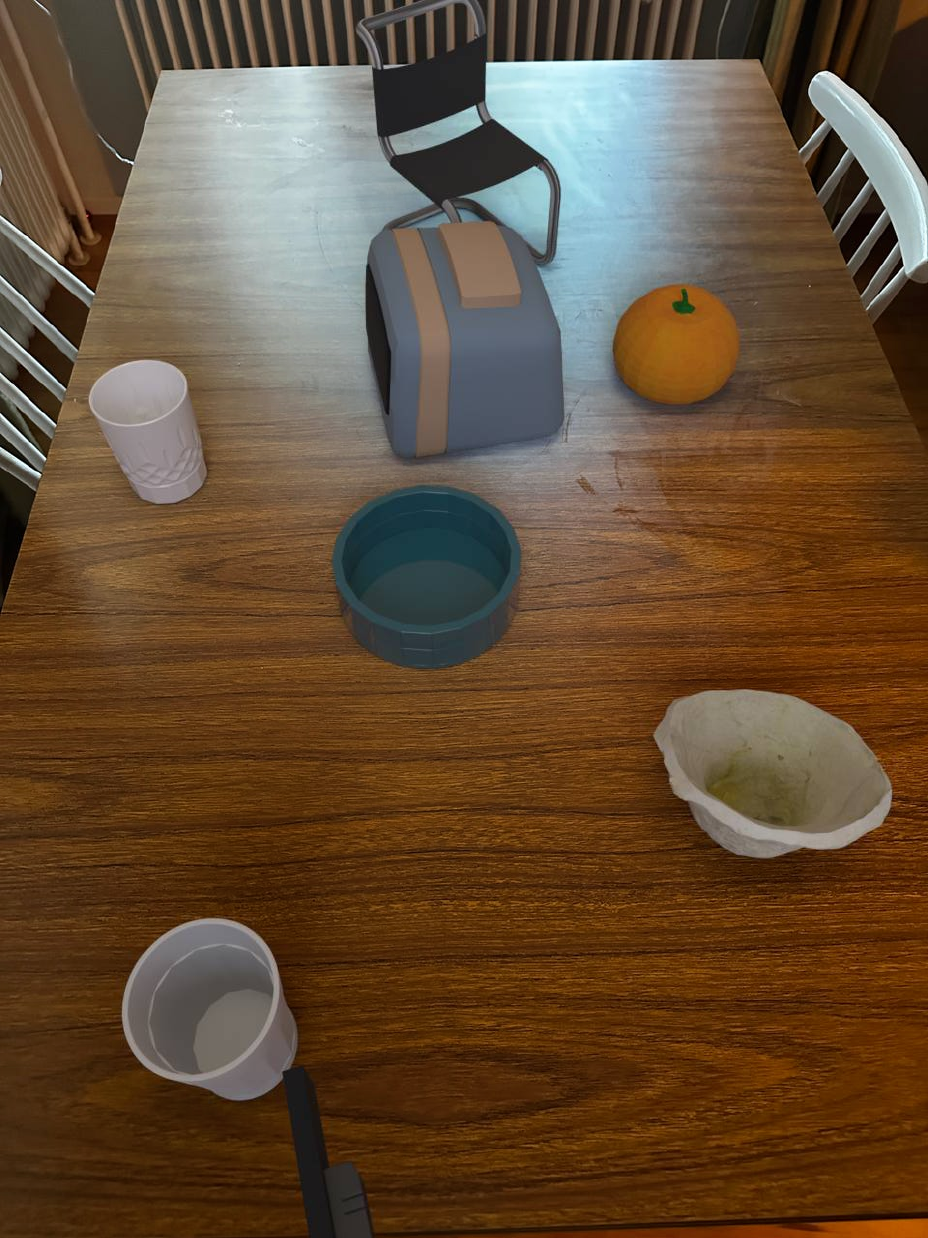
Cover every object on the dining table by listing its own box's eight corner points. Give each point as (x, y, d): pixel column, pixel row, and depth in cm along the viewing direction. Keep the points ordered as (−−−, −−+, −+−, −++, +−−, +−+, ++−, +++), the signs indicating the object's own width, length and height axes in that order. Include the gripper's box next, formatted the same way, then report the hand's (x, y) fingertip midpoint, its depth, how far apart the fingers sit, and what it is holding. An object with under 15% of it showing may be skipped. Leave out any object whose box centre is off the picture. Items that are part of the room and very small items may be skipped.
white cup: (108, 475, 86) (70, 389, 77) (182, 432, 89) (153, 346, 80) (156, 524, 82) (121, 440, 74) (231, 478, 85) (206, 393, 77)
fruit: (628, 429, 89) (644, 342, 80) (593, 347, 95) (604, 259, 87) (748, 410, 90) (775, 323, 82) (704, 331, 96) (726, 243, 88)
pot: (355, 685, 73) (348, 650, 69) (327, 541, 81) (320, 502, 77) (539, 649, 75) (542, 612, 71) (493, 511, 83) (495, 471, 79)
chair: (464, 196, 110) (463, -16, 92) (557, 272, 102) (576, 55, 84) (368, 235, 106) (348, 20, 88) (457, 317, 98) (455, 99, 80)
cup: (212, 1145, 55) (156, 1116, 46) (160, 1021, 59) (99, 970, 49) (333, 1065, 58) (306, 1022, 48) (276, 952, 62) (240, 890, 52)
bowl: (852, 735, 70) (903, 664, 62) (852, 921, 63) (911, 867, 54) (650, 696, 72) (673, 622, 64) (626, 872, 65) (649, 812, 56)
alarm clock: (366, 353, 95) (349, 205, 82) (525, 331, 97) (534, 182, 84) (393, 471, 86) (379, 326, 73) (568, 444, 88) (586, 297, 74)
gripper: (-329, 2331, 22) (-195, 1272, 35) (666, 1850, 26) (449, 1059, 39) (-625, 2650, 16) (-332, 1243, 30) (709, 1971, 20) (438, 997, 34)
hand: (113, 1137), depth 34 cm, fingers open, 13 cm apart
